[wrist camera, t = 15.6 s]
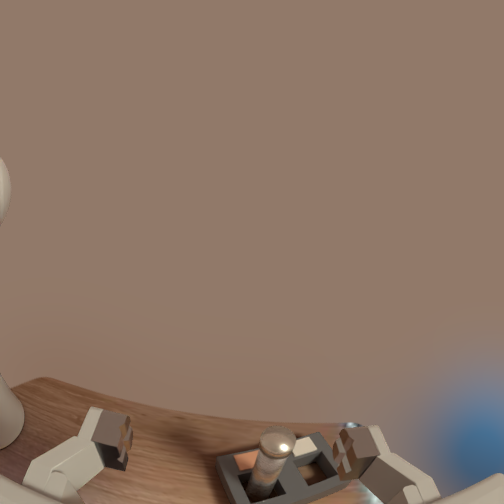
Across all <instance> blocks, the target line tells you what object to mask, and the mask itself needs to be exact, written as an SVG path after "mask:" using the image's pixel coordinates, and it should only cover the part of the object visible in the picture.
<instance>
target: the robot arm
mask: <svg viewBox="0 0 504 504" xmlns="http://www.w3.org/2000/svg"><path fill="white" fill-rule="evenodd" d="M10 200H11V180H10V175H9V172H8V169H7V167H6V165H5V163H4V161H3V160H2V159H1V157H0V225H1V224H2V222H3V221H4V219H5V216H6V214H7V211H8V208H9V204H10ZM130 422H131V421H130V417H129V416H128V415H124V414H119V413H115V412H111V411H107V410H104V409H100V408H96V407H91V408H90V409H89V411H88V413H87V415H86V417H85V420H84V422H83V424H82V427H81V429H80V431H79V434H78V436H77V437H76V436H73V437H71V438H70V439H68V440H66V441H65V442H63V443H61V444H60V445H58V446H56V447H54V448H53V449H51V450H49V451H48V452H46V453H44V454H42V455H41V456H39V457H37V458H35V459H34V460H32V461H31V464H30V466H29V468H28V470H27V472H26V475H25V477H24V479H23V482H22V484H21V485H20V484H18V483H16V482H14V481H12V480H10V479H8V478H7V477H5V476H3V475H1V474H0V504H85V503H84V501H83V500H82V498H81V497H80V496H79V494H78V493H77V490H79V489H80V488H81V487H82V486H83V485H85V484H86V483H87V482H88V481H89V480H91V479H92V478H93V477H94V476H95V475H97V474H98V473H99V472H100V471H101V470H102V469H104V467H108V468H112V469H116V470H121V471H125V470H126V466H127V462H128V455H127V452H128V451H129V450H131V446H132V440H133V431H132V428H131V427H130V426H129V425H130ZM23 424H24V409H23V406H22V404H21V402H20V401H19V399H18V398H17V397H16V396H15V395H14V393H13V392H12V391H11V390H10V388H9V387H8V385H7V384H6V382H5V380H4V379H3V377H2V375H1V374H0V449H2V448H4V447H6V446H8V445H9V444H11V443H12V442H13V441H14V440H15V439H16V438H17V437H18V435H19V434H20V432H21V430H22V427H23ZM339 435H340V438H338V439H337V440H336V441H335V443H334V445H333V450H332V453H333V458H334V461H335V462H337V463H338V464H339V465H338V467H337V472H338V475H339V479H340V481H346V480H354V479H359V481H360V482H362V483H363V484H364V485H365V486H366V487H367V488H368V489H369V490H370V491H371V492H372V493H373V494H374V495H375V496H376V497H378V498H379V499H380V500H381V501H382V502H383V503H384V504H504V475H503V474H501V473H498V474H494V475H492V476H490V477H488V478H486V479H484V480H482V481H480V482H478V483H476V484H474V485H472V486H470V487H468V488H466V489H464V490H462V491H460V492H457V493H455V494H453V495H450V496H448V497H446V498H443V499H442V498H441V496H440V494H439V492H438V490H437V487H436V486H435V483H434V481H433V479H432V478H431V477H430V476H428V475H427V474H425V473H423V472H422V471H420V470H419V469H417V468H416V467H414V466H413V465H411V464H409V463H408V462H407V461H405V460H404V459H402V458H401V457H399V456H398V455H396V454H395V453H391V452H390V450H389V448H388V445H387V443H386V441H385V439H384V437H383V435H382V433H381V430H380V428H379V427H378V426H377V425H373V426H366V427H365V426H363V427H354V428H344V429H342V430H341V432H340V433H339Z"/></svg>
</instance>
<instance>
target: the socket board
mask: <svg viewBox="0 0 504 504" xmlns="http://www.w3.org/2000/svg"><path fill="white" fill-rule="evenodd" d="M258 451H259V448H257V449H253V450H248V451H244V452H239V453H234V454H228V455H223V456H217V458H216V465H215V467H216V470H217V472H218V475H219V477H220V480H221V482H222V485H223V487H224V490H225V492H226V494H227V497H228V499H229V501H230V504H250V501H249V499H248V497H247V495H246V493H245V491H244V489H243V487H242V485H241V483H243V482H247V481H249V479H250V476H251V473H252V470H253V467H254V464H255V461H256V458H257V454H258ZM313 462H317V464H318V465H319V467H320V468H321V470H322V471H323V473H324V474H325V476H326V477H327V478H328V479H326V480H324V481H321V482H319V483H316V484H313V485H311V486H308V485H307V483H306V481H305V480H304V478H303V477H302V475H301V473H300V472H299V470H298V469H297V468H298V467H301V466H304V465H307V464H310V463H313ZM338 465H339V464H338V463H337V462H335V461H334V458H333V453H332V449H331V447H330V446H329V445H328V443H327V442H326V440H325V439H324V438H323V436H322V435H321V434H320V432H316V433H313V434H310V435H306V436H303V437H300V438H296V444H295V446H294V449H293V451H292V453H291V454H290V455H289V456H288V458H287V460H286V462H285V464H284V466H283V469H282V471H281V473H280V475H279V477H278V479H277V481H276V483H275V485H274V487H273V488H274V490H275V492H276V493H277V495H278V497H274V498H271V499H267V500H264V501H260V502H256V503H252V504H308V503H310V502H313V501H315V500H318V499H320V498H323V497H325V496H328V495H330V494H332V493H335V492H337V491H339V490H342V489H344V488H346V487H347V485H348V484H349V483H350V482H351V481H352V480H346V481H340V479H339V475H338V472H337V467H338Z"/></svg>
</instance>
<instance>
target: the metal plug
mask: <svg viewBox="0 0 504 504" xmlns="http://www.w3.org/2000/svg"><path fill="white" fill-rule="evenodd" d="M295 444H296V437H295V435H294V433H293V432H292V431H291V430H289V429H288V428H285V427H282V426H271V427H268V428H266V429H265V430H264V431H263V432H262V435H261V438H260V442H259V451H258V454H257V458H256V461H255V464H254V467H253V470H252V473H251V476H250V479H249V482H248V485H247V488H246V491H245V493H246V495H247V497H248V499H249V501H251V502H253V503H256V502H260V501H264V500H267V499H268V498H269V496H270V494H271V492H272V489H273V487H274V485H275V483H276V481H277V479H278V477H279V475H280V473H281V471H282V469H283V466H284V464H285V462H286V460H287V458H288V456H289V455H290V454H291V453H292V451H293V449H294V446H295Z"/></svg>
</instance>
